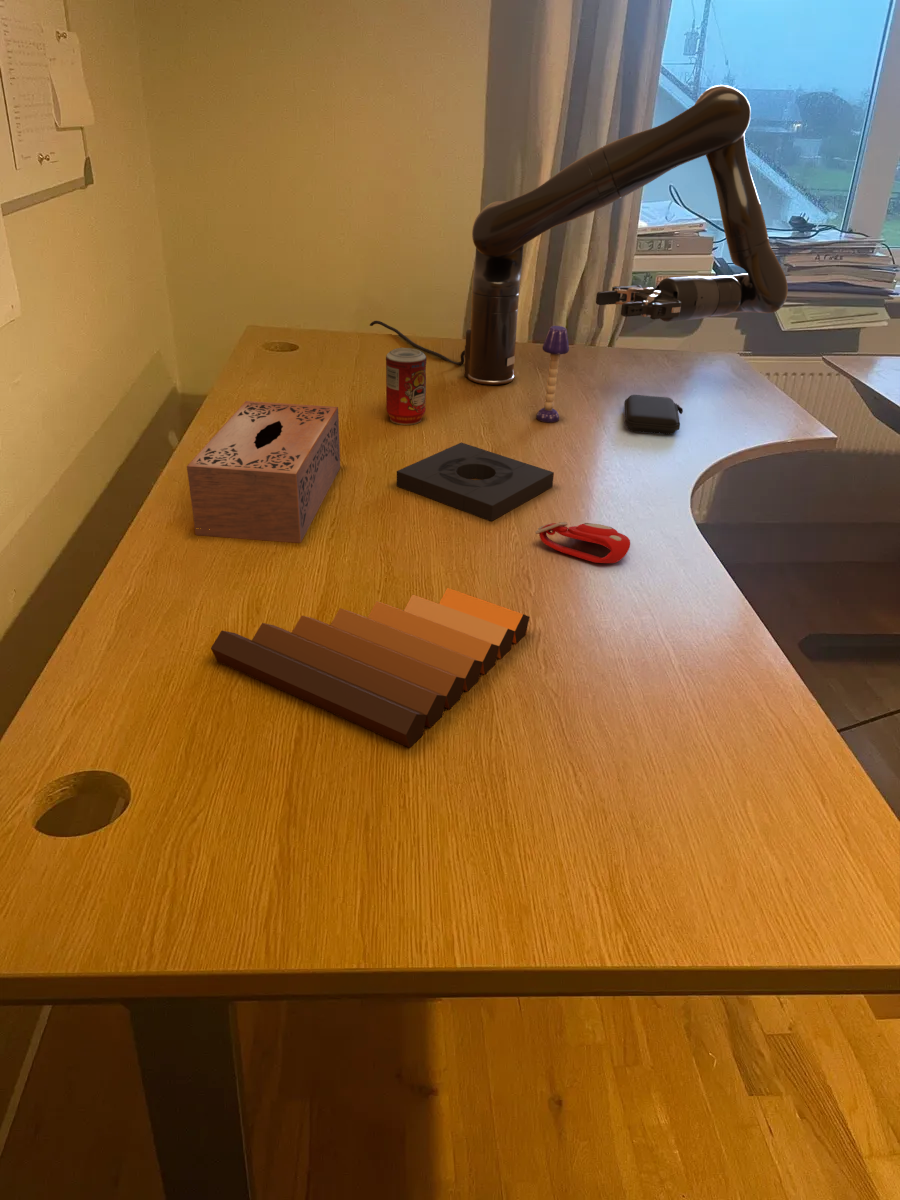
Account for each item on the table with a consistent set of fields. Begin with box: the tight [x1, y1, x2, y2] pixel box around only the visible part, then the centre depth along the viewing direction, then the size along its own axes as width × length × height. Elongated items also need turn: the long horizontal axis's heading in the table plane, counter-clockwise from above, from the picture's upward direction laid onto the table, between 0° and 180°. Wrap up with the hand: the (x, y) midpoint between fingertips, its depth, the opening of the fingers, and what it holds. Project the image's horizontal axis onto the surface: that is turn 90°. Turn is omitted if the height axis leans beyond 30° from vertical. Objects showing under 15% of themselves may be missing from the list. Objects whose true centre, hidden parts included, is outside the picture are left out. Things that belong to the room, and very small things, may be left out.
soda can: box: [385, 347, 427, 426], centre depth 157 cm, size 7×7×12 cm
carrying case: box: [623, 394, 684, 435], centre depth 163 cm, size 11×3×15 cm
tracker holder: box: [535, 521, 631, 564], centre depth 119 cm, size 12×4×10 cm
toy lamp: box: [535, 325, 570, 424], centre depth 159 cm, size 5×5×17 cm
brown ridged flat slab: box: [210, 587, 531, 749], centre depth 98 cm, size 25×3×25 cm
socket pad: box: [396, 441, 555, 522], centre depth 136 cm, size 18×16×2 cm
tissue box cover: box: [186, 400, 341, 544], centre depth 128 cm, size 26×14×10 cm, turn 174°
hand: (609, 304), depth 156 cm, fingers open, 8 cm apart
